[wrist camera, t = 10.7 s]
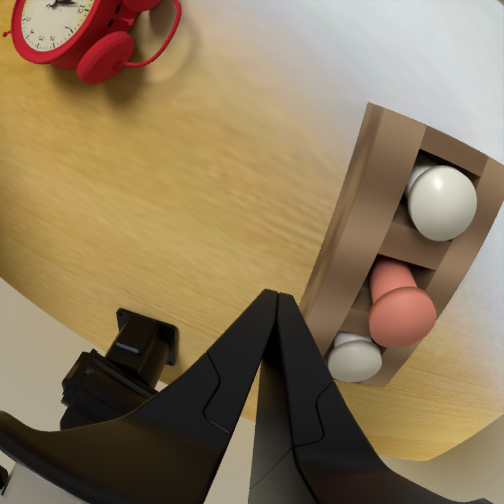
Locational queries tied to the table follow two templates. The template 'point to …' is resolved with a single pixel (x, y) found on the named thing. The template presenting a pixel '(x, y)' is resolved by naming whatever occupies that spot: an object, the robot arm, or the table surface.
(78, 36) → the alarm clock
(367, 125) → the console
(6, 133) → the table surface
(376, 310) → the red plug
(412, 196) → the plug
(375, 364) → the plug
